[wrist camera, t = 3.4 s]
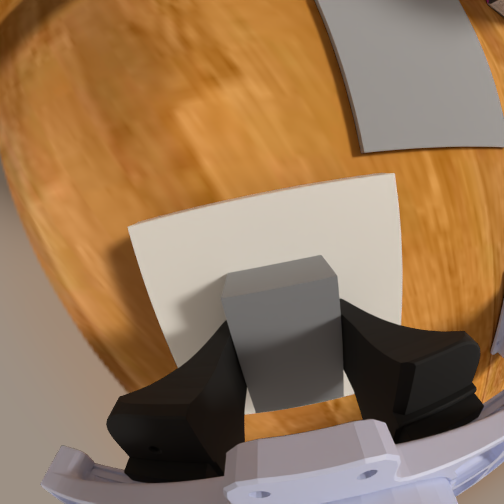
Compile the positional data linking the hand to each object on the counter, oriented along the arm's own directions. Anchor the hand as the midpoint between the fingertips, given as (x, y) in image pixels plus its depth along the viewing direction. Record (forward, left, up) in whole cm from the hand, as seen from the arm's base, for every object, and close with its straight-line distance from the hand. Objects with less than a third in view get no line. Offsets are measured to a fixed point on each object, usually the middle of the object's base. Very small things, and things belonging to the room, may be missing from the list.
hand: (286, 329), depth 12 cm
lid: (0, 0, -2) cm, 2 cm away
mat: (+14, -13, -4) cm, 20 cm away
